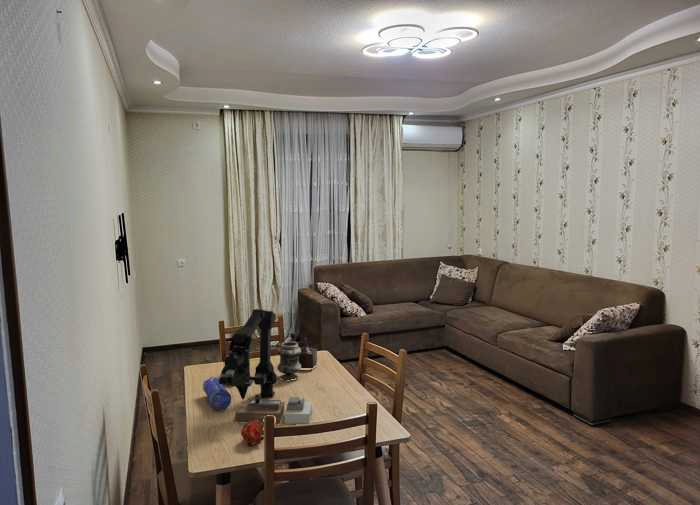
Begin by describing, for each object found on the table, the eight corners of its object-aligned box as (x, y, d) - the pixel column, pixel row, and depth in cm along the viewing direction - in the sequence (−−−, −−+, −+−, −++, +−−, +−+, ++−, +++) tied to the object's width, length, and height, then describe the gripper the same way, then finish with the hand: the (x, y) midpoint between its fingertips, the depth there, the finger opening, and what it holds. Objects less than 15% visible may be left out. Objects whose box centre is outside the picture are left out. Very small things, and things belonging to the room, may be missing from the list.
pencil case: (202, 396, 236) (202, 375, 235) (221, 393, 240) (220, 373, 239) (212, 413, 216) (211, 391, 215) (232, 410, 220) (232, 388, 219)
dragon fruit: (258, 438, 197) (253, 457, 185) (239, 426, 195) (233, 445, 184) (270, 422, 195) (266, 440, 183) (252, 410, 194) (246, 428, 182)
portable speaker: (240, 385, 249) (240, 365, 248) (220, 385, 249) (219, 365, 248) (249, 369, 275) (249, 350, 274) (231, 369, 275) (230, 350, 274)
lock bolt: (250, 407, 211) (250, 396, 211) (251, 405, 213) (251, 393, 213) (279, 408, 211) (278, 396, 210) (280, 405, 213) (279, 394, 213)
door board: (242, 410, 219) (242, 396, 218) (284, 411, 218) (284, 396, 218) (235, 422, 207) (235, 407, 206) (279, 423, 206) (279, 408, 206)
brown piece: (318, 364, 282) (317, 332, 280) (312, 371, 271) (312, 337, 269) (291, 362, 285) (290, 331, 283) (284, 369, 274) (284, 336, 272)
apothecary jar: (297, 382, 253) (297, 347, 252) (274, 381, 255) (274, 346, 253) (303, 374, 265) (303, 340, 263) (281, 373, 267) (281, 339, 265)
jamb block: (289, 411, 218) (288, 394, 217) (312, 411, 218) (312, 394, 217) (284, 423, 206) (284, 405, 206) (309, 423, 206) (309, 405, 205)
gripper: (214, 368, 203) (215, 406, 204) (260, 369, 202) (261, 407, 204) (222, 360, 214) (223, 396, 215) (266, 360, 213) (266, 396, 215)
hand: (243, 399), depth 212 cm, fingers closed
